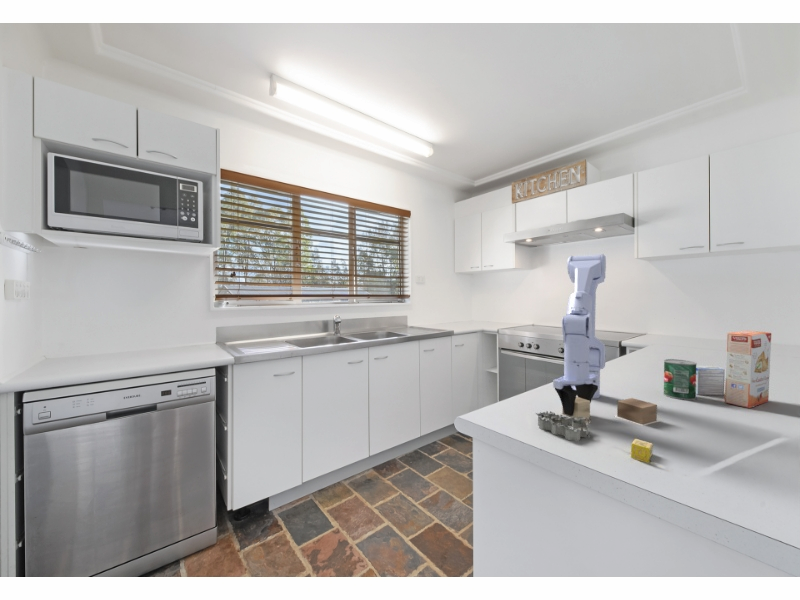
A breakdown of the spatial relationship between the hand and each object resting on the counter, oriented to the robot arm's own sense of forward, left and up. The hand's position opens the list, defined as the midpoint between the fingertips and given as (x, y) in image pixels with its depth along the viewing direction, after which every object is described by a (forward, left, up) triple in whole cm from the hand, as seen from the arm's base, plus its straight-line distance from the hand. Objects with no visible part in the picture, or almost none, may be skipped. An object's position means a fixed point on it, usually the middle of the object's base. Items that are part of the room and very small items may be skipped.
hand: (576, 412), depth 88 cm
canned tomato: (+1, +46, -2) cm, 46 cm away
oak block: (0, 0, -2) cm, 2 cm away
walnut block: (+8, +12, -1) cm, 14 cm away
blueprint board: (+7, +12, -1) cm, 14 cm away
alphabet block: (+20, -7, -2) cm, 21 cm away
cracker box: (+13, +57, -2) cm, 58 cm away
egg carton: (+4, -10, -2) cm, 11 cm away
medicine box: (+3, +57, -2) cm, 57 cm away
